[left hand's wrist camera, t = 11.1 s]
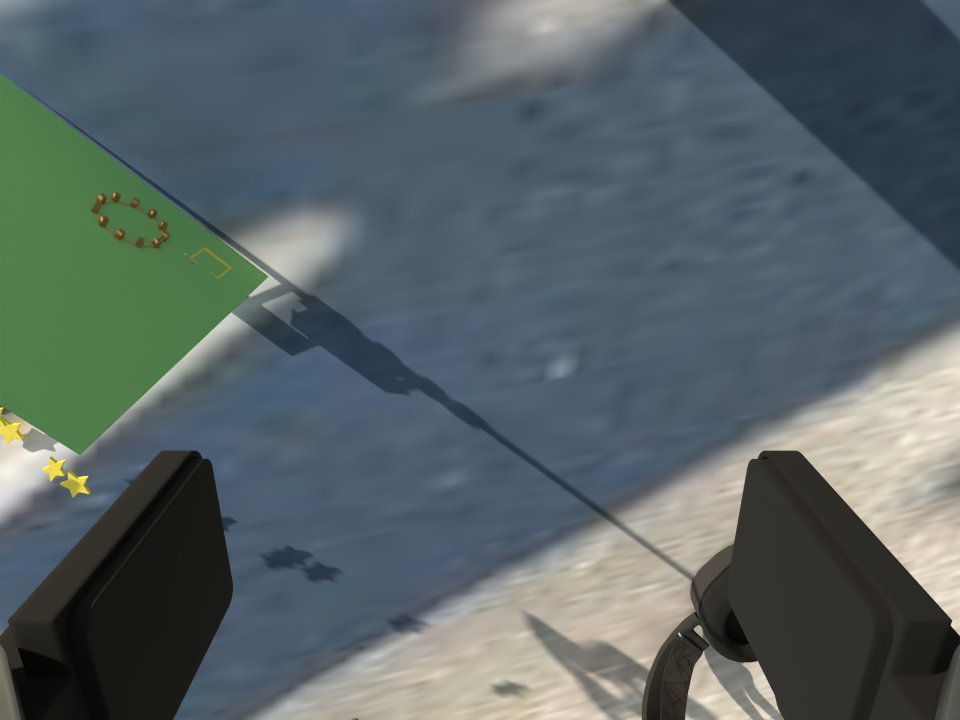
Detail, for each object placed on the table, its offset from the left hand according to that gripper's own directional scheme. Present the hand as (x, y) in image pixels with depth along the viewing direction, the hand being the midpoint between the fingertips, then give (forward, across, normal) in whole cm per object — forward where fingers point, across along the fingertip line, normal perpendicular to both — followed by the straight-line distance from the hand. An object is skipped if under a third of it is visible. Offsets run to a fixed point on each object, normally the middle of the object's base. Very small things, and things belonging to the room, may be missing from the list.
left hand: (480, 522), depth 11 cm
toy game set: (+36, -31, -7) cm, 49 cm away
